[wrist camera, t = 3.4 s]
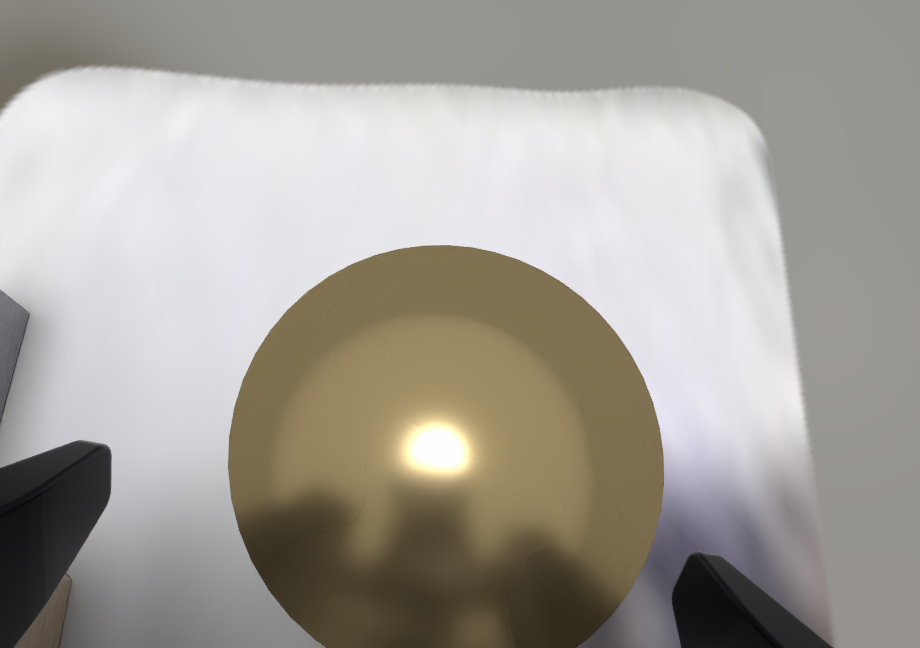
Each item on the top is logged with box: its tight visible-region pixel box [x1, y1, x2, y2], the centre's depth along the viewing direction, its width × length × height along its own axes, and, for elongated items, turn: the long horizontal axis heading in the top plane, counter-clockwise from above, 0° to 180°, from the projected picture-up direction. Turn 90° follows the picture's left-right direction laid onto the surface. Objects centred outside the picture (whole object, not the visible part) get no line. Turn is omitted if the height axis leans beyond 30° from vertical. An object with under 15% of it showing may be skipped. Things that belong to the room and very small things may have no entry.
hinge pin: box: [228, 245, 664, 648], centre depth 11 cm, size 4×4×12 cm
